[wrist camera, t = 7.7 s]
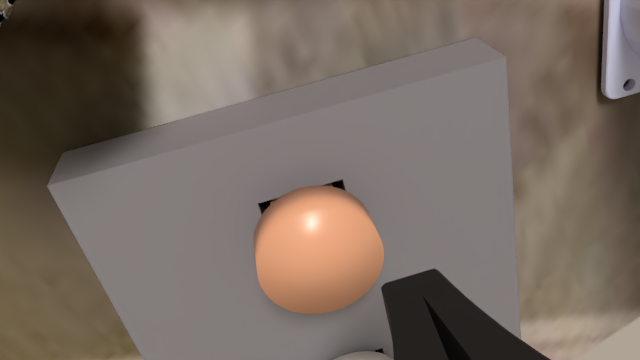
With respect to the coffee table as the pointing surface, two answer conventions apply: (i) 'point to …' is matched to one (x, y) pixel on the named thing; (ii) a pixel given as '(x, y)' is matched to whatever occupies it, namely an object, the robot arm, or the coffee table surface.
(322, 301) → the terracotta button
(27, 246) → the coffee table surface
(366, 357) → the white rounded piece
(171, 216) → the button panel
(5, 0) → the cup
